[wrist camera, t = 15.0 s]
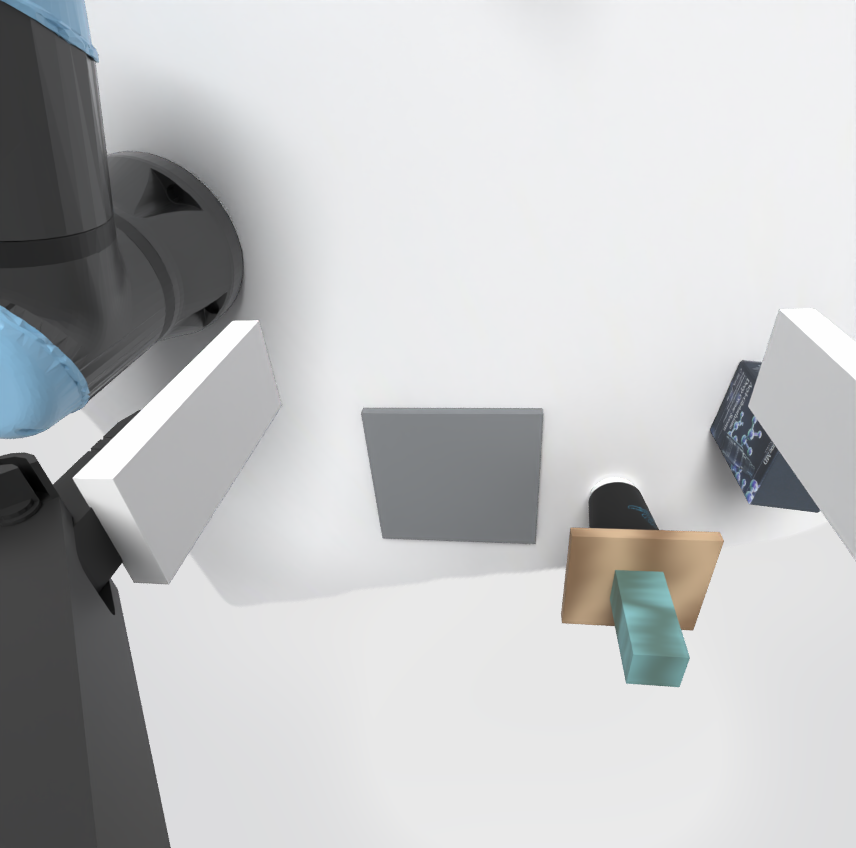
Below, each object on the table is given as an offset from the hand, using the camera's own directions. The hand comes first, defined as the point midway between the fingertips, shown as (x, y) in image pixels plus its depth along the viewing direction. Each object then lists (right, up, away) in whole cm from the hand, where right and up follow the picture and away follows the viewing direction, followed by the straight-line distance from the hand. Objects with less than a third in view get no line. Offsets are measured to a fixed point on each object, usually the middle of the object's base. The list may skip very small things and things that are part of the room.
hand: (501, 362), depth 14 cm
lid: (+17, -15, +34) cm, 41 cm away
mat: (+1, -7, +44) cm, 45 cm away
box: (+28, +1, +35) cm, 45 cm away
